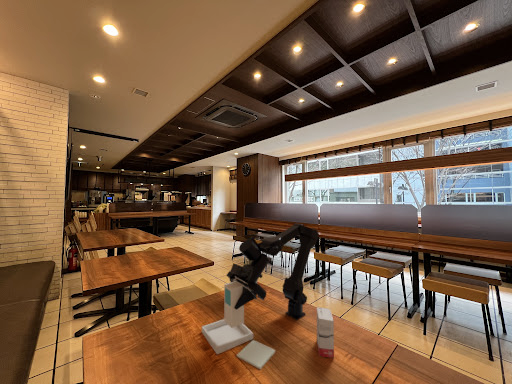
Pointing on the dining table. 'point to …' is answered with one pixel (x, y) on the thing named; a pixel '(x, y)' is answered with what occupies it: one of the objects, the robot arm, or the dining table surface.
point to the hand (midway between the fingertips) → (231, 305)
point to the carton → (233, 304)
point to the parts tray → (226, 335)
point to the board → (256, 354)
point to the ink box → (325, 332)
